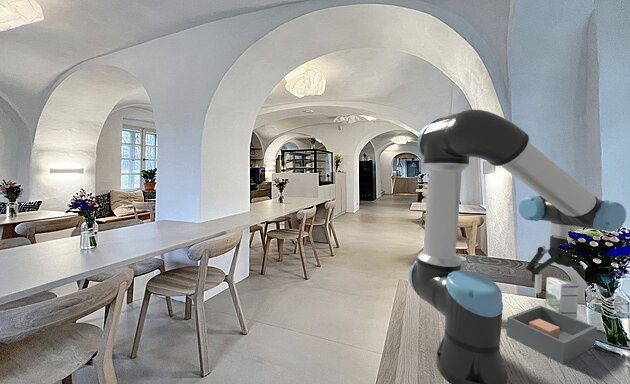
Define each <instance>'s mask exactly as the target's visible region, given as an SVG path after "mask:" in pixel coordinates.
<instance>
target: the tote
mask: <svg viewBox="0 0 630 384" xmlns="http://www.w3.org/2000/svg"><path fill="white" fill-rule="evenodd" d="M506 319H507V321H506V336H507V337H509V338H511V339H513V340H515V341H517V342H519V343H521V344H523V345H525V346H527V347H529V348H531V349H532V350H535V351H536V352H538V353H540V354H542V355H544V356H546V357H548V358H550V359H552V360H554V361H556V362H557V363H560V364H562V365H564V364H565V363H568V362H569V361H571V360H573V359H575V358H576V357H578V356H580V355H582V354H583V353H585V352H587V351H589V350H591V349H592V348H593V347H592V346H594V344H595V345H596V342H595V337H596V338H597V329H598V328H597V326H595V325H592V324H590V323H588V322H585V321H583V320H580V319H578V318H577V319H574V318H572V317H569V316H567V315H564V314H561V313H559V312H556V311H554V310H551V309H548V308H546V307H545V306H543V305H537V306H535V307H532V308H529V309H527V310H524V311H520V312H519V313H515V314H512V315H510V316H507V318H506ZM537 319H541V320H544V321H546V322H548V323H551V324H553V325H555V326H558V327H560V332H559V339H557V338H555V337H552V336H550V335H548V334H546V333H544V332H541V331H539V330H537V329H535V328H533V327H530V326H529V322H531V321H534V320H537ZM591 347H592V348H591ZM594 347H595V346H594ZM590 348H591V349H590ZM588 349H589V350H588Z"/></svg>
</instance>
